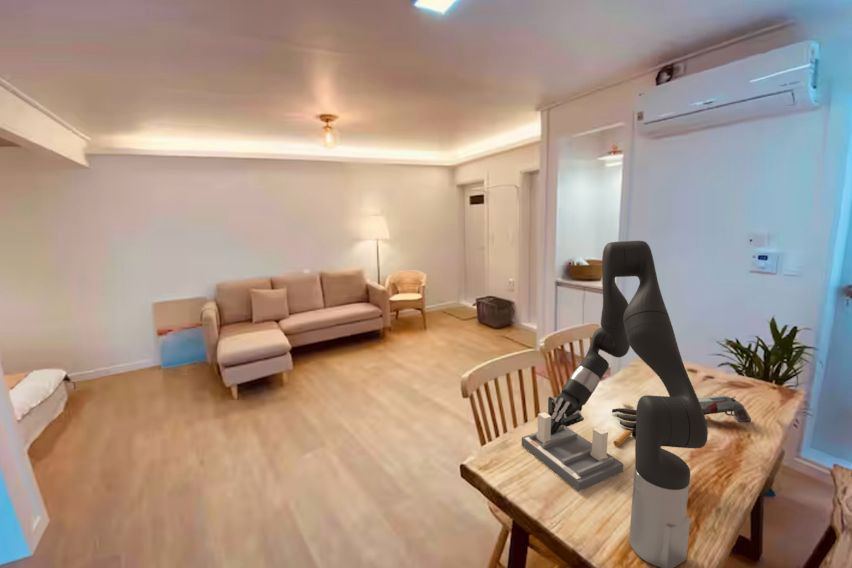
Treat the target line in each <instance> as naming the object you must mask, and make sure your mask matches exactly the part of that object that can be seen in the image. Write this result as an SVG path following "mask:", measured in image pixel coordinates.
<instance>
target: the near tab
mask: <svg viewBox="0 0 852 568" xmlns="http://www.w3.org/2000/svg"><path fill="white" fill-rule="evenodd" d="M608 438H609V432H608V431H607V430H605V429H603V428H602V427H600V426H598V427H595V428H593V429H592V440H591V443H592V451H591V452H590V455H591V456H592V457H594V458H595V459H597V460H598V461H602V460H605V459H607V458H608V456H607V453H608V440H609V439H608Z"/></svg>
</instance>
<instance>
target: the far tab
mask: <svg viewBox="0 0 852 568" xmlns="http://www.w3.org/2000/svg"><path fill="white" fill-rule="evenodd" d="M550 436H551V416H550V415H549V414H548V412H547V413H546V412H545V411H544V412H540V413H537V435H536V438H537V439H538V440H539V441H541V442H542V443H546V442H549V441H551V439H550Z"/></svg>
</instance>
